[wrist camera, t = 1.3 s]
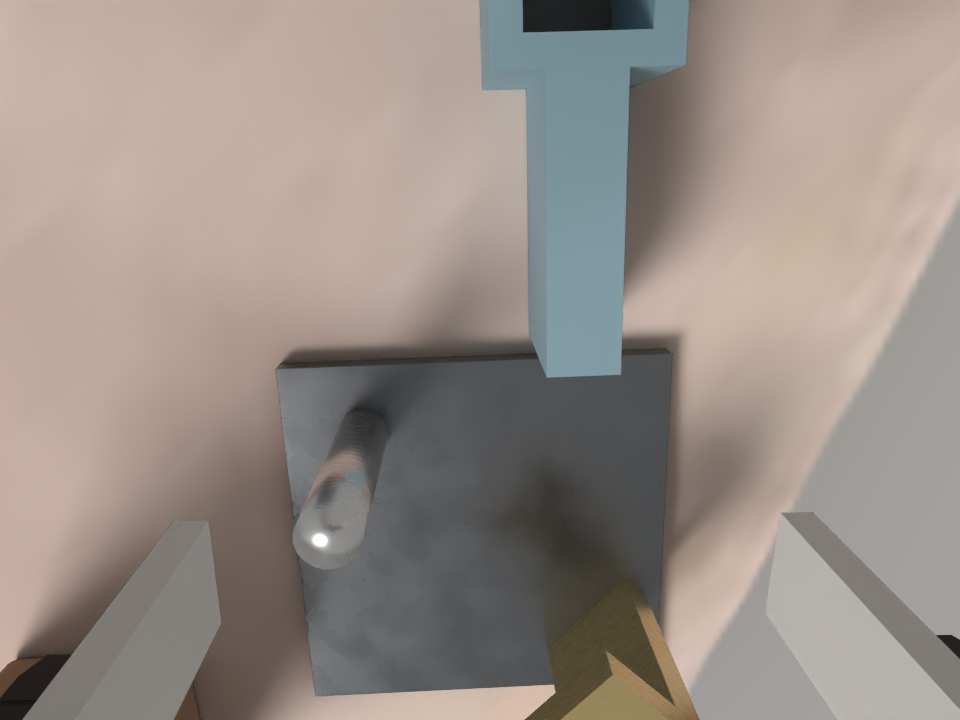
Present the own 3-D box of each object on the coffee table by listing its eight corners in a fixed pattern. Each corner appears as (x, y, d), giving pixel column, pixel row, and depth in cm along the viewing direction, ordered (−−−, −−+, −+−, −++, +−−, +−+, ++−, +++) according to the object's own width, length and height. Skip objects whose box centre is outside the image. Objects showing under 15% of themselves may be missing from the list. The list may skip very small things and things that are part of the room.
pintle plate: (280, 363, 34) (197, 459, 23) (666, 348, 34) (764, 436, 24) (318, 683, 40) (266, 883, 29) (650, 666, 40) (724, 857, 29)
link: (477, -87, 29) (484, -163, 22) (641, -91, 29) (697, -167, 22) (489, 336, 34) (497, 379, 27) (627, 330, 34) (670, 372, 27)
